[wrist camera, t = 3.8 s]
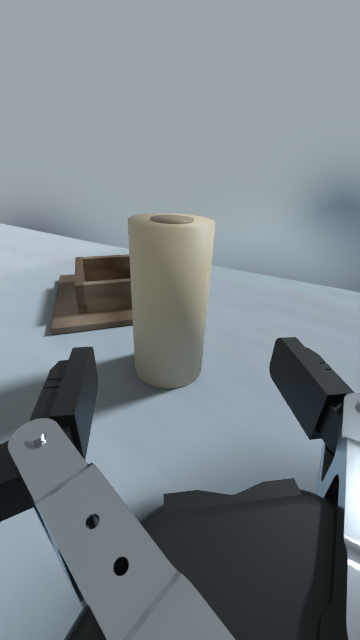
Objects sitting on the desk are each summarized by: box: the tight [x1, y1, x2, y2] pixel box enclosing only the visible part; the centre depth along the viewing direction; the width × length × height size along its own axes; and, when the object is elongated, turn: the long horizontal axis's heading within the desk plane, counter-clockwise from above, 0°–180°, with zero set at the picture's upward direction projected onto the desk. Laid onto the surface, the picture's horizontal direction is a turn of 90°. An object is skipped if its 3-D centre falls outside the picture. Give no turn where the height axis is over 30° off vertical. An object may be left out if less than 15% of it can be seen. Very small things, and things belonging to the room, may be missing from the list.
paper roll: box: [128, 213, 215, 389], centre depth 19 cm, size 5×5×11 cm
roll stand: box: [51, 255, 133, 335], centre depth 32 cm, size 14×14×4 cm
